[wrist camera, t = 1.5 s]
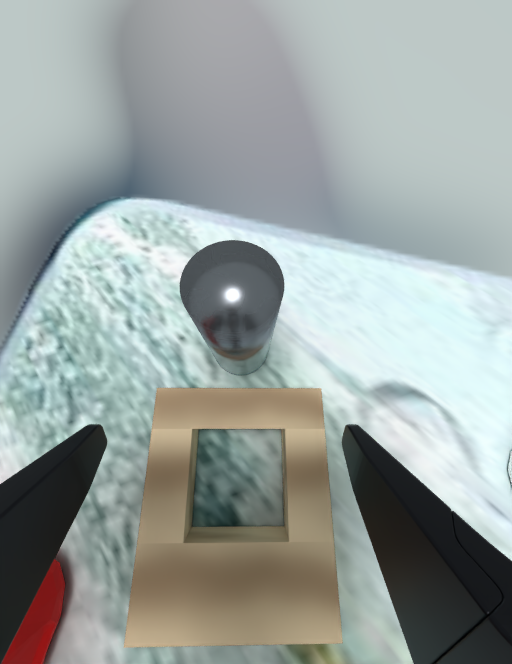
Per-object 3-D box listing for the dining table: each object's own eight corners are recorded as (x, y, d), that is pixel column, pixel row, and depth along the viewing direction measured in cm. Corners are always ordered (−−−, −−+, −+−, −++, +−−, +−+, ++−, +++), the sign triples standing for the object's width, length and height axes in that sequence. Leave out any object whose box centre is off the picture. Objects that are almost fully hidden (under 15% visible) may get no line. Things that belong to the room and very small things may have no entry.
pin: (274, 366, 23) (299, 315, 11) (221, 382, 22) (192, 345, 11) (258, 317, 24) (266, 230, 13) (208, 331, 24) (170, 253, 12)
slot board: (329, 612, 17) (342, 643, 15) (141, 615, 17) (123, 647, 14) (313, 391, 22) (321, 388, 20) (167, 391, 22) (157, 388, 19)
